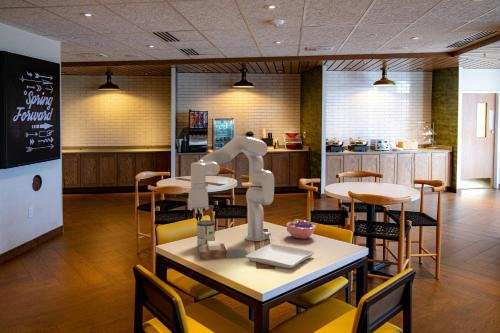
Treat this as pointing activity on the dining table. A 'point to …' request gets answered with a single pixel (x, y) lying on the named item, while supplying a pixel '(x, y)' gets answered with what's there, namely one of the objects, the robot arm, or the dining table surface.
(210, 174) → the robot arm
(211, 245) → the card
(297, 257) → the square plate
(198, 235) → the coffee can
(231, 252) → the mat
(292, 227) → the cell model
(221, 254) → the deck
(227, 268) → the dining table surface
